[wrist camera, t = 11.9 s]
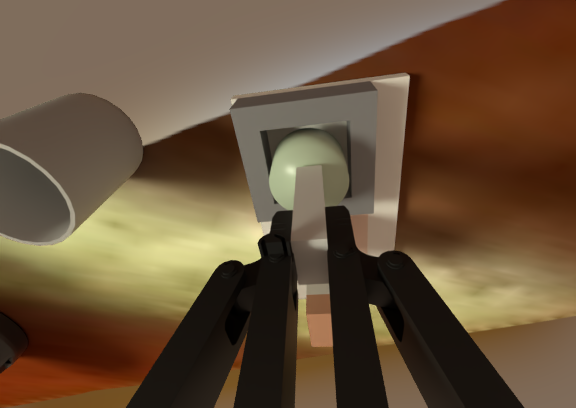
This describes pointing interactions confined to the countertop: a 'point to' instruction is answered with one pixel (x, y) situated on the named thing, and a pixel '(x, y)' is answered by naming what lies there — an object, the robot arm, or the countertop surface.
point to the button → (308, 152)
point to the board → (352, 137)
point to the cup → (62, 165)
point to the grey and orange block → (319, 315)
